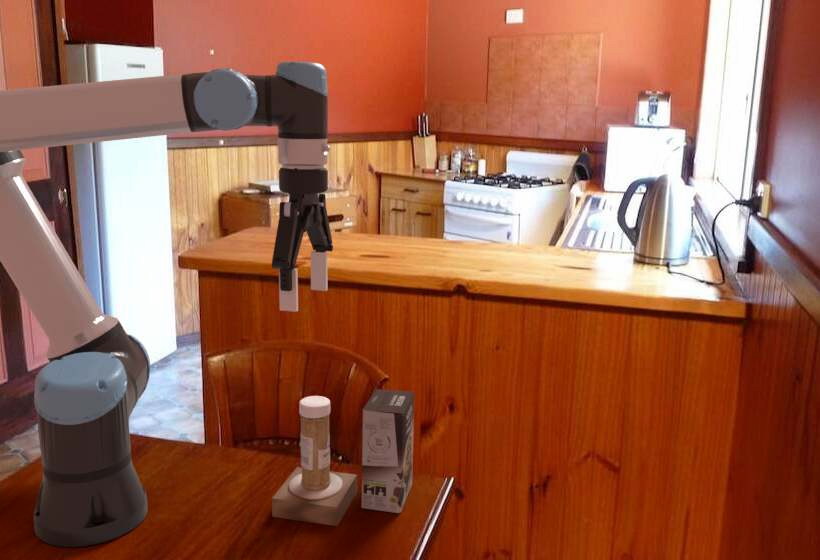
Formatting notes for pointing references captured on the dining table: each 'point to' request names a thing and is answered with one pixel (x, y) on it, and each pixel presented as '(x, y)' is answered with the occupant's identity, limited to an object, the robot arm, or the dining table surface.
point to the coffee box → (387, 450)
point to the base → (315, 499)
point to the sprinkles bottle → (315, 442)
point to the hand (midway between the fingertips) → (304, 299)
